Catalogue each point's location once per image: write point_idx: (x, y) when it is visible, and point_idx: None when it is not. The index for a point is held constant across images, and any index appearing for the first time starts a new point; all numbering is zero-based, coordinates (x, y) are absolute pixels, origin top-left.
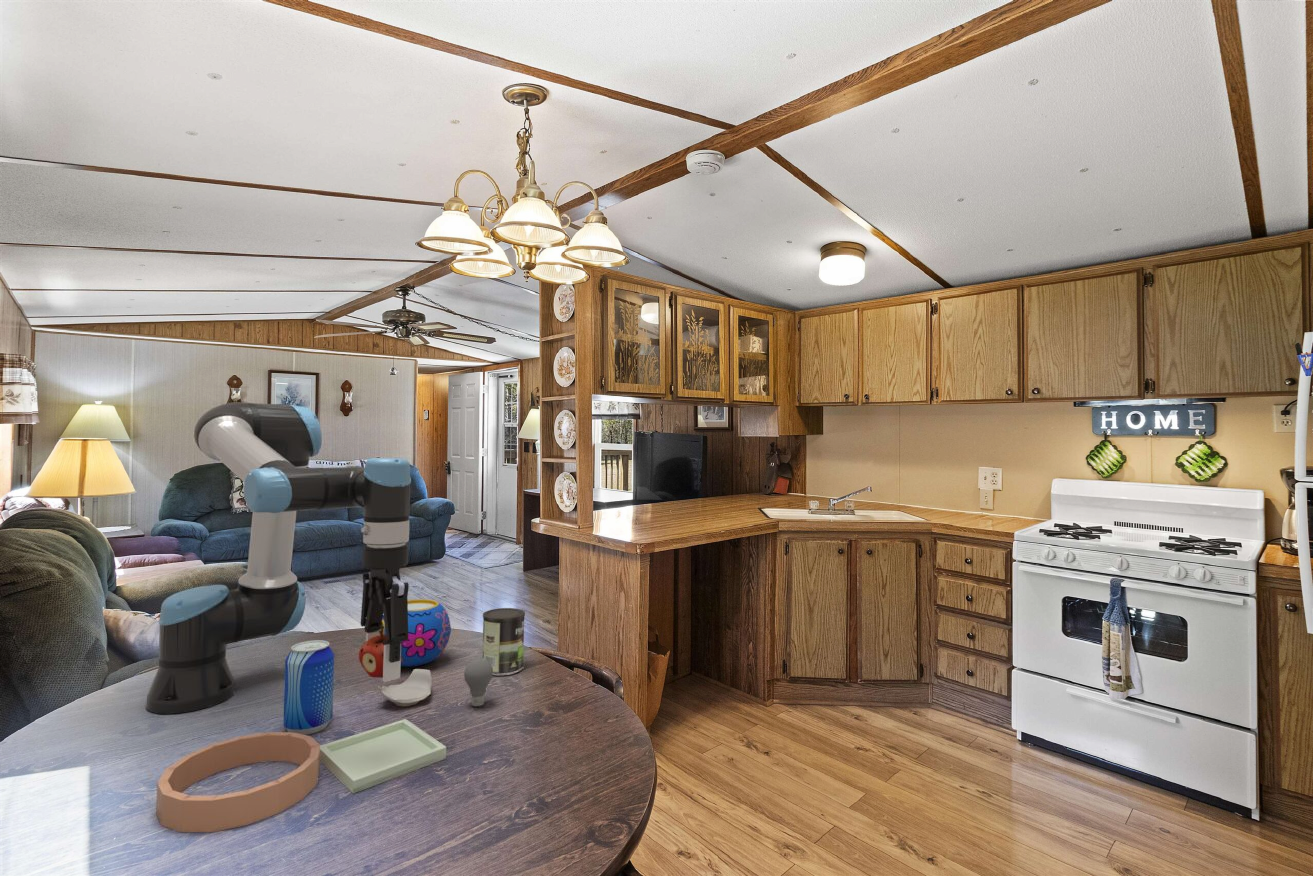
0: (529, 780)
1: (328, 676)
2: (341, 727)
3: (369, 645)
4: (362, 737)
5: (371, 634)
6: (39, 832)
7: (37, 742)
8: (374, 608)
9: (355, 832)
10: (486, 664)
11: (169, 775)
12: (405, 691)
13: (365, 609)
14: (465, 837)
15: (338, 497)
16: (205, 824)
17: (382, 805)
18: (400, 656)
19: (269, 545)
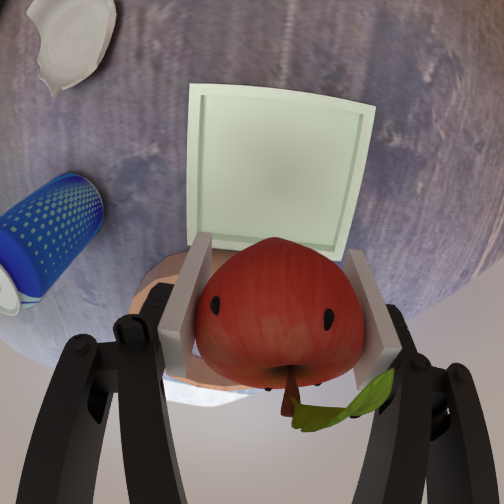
0: (500, 97)
1: (48, 230)
2: (107, 165)
3: (280, 388)
4: (198, 175)
5: (185, 366)
6: (175, 395)
7: (27, 351)
8: (183, 492)
9: (405, 283)
10: None
11: (188, 379)
12: (70, 38)
13: (97, 451)
14: (499, 224)
15: None
16: None
17: (393, 242)
18: (381, 299)
19: None
